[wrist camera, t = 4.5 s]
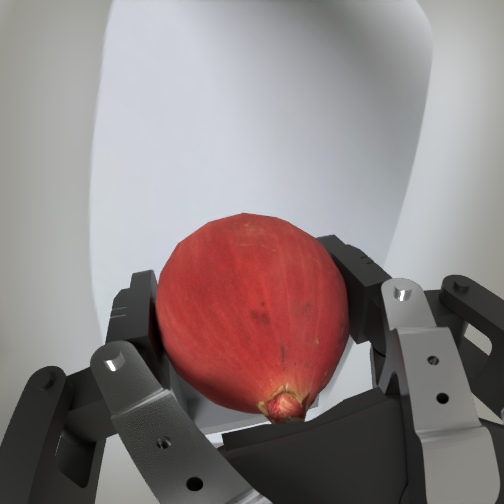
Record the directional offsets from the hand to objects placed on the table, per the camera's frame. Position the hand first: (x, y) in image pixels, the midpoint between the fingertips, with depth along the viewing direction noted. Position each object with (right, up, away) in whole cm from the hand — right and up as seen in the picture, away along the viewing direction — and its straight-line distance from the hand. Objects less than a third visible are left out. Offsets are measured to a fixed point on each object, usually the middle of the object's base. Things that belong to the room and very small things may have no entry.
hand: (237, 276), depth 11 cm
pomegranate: (0, +1, +2) cm, 2 cm away
